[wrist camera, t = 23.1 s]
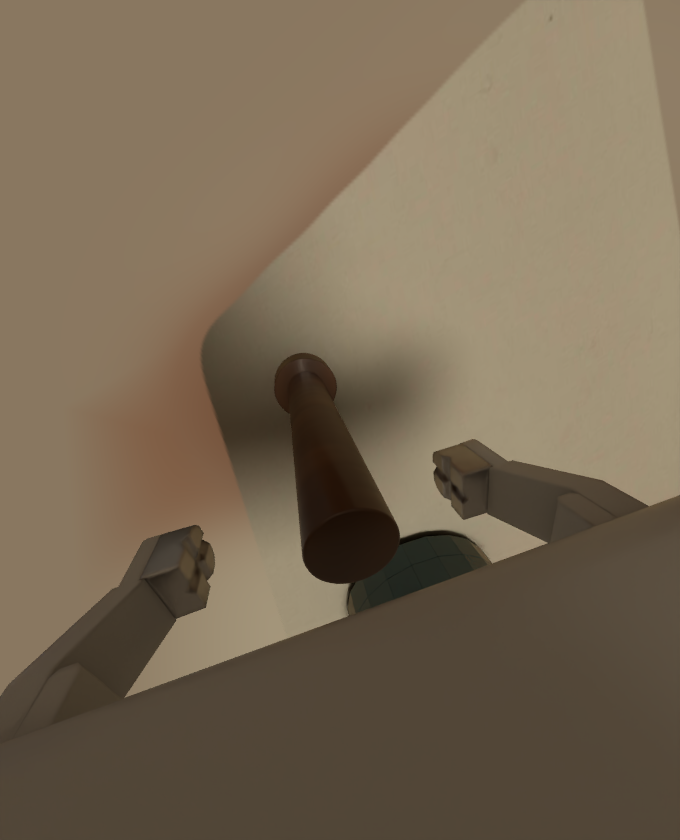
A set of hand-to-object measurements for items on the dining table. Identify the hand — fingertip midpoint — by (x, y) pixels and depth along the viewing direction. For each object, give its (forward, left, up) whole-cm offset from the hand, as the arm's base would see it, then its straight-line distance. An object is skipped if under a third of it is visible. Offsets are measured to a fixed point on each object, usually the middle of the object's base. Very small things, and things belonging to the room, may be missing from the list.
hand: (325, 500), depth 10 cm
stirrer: (0, 0, -14) cm, 14 cm away
